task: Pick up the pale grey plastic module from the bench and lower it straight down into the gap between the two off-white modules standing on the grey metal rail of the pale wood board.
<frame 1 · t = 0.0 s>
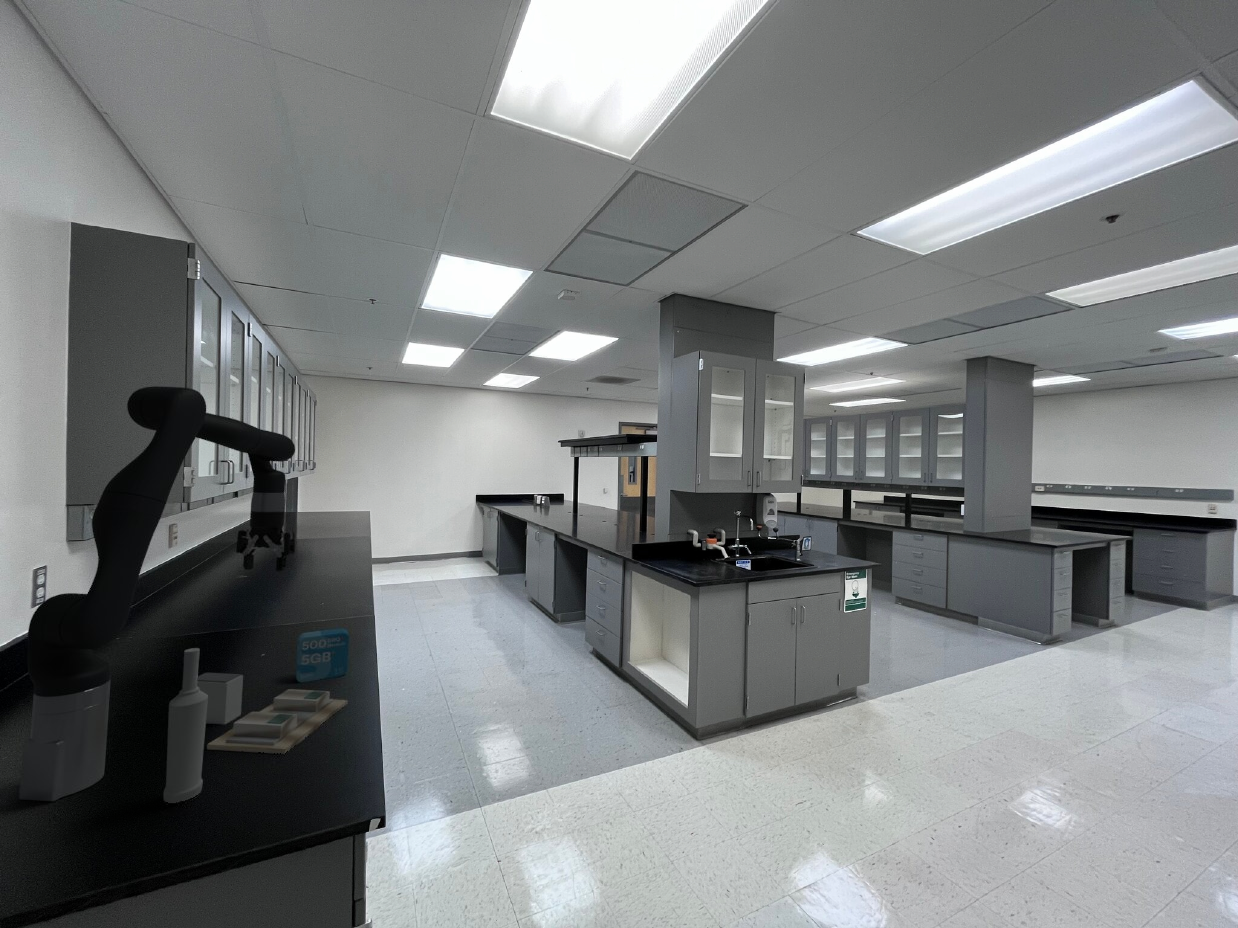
hand: (264, 570, 134), 29 cm above the counter, tool pointing down, fingers open, 8 cm apart
bottle: (182, 797, 87), on the counter
data package: (321, 677, 138), on the counter
rail board: (284, 724, 112), on the counter
module: (213, 718, 113), on the counter
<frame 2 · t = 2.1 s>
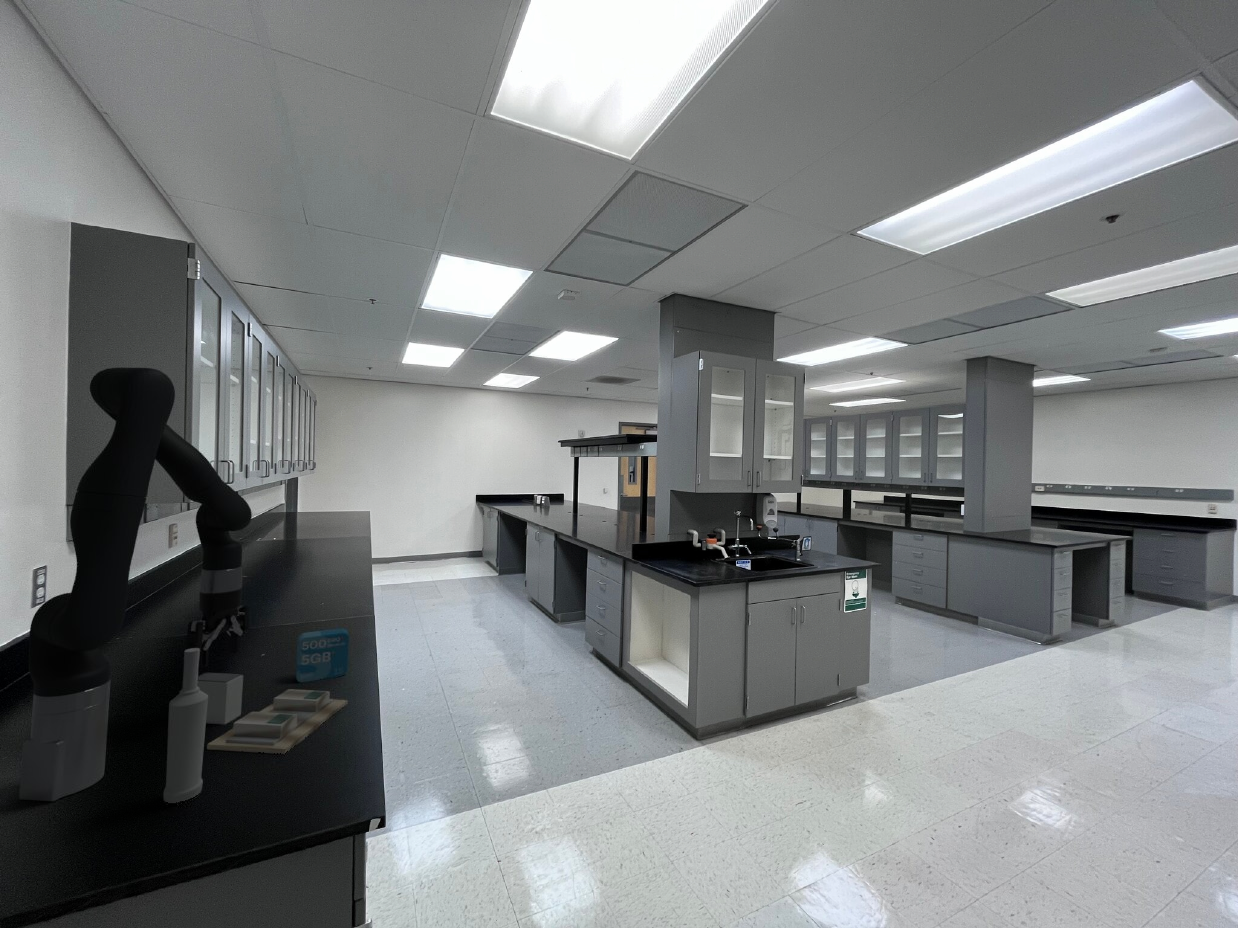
hand: (218, 659, 114), 13 cm above the counter, tool pointing down, fingers open, 8 cm apart
nothing on the counter moved.
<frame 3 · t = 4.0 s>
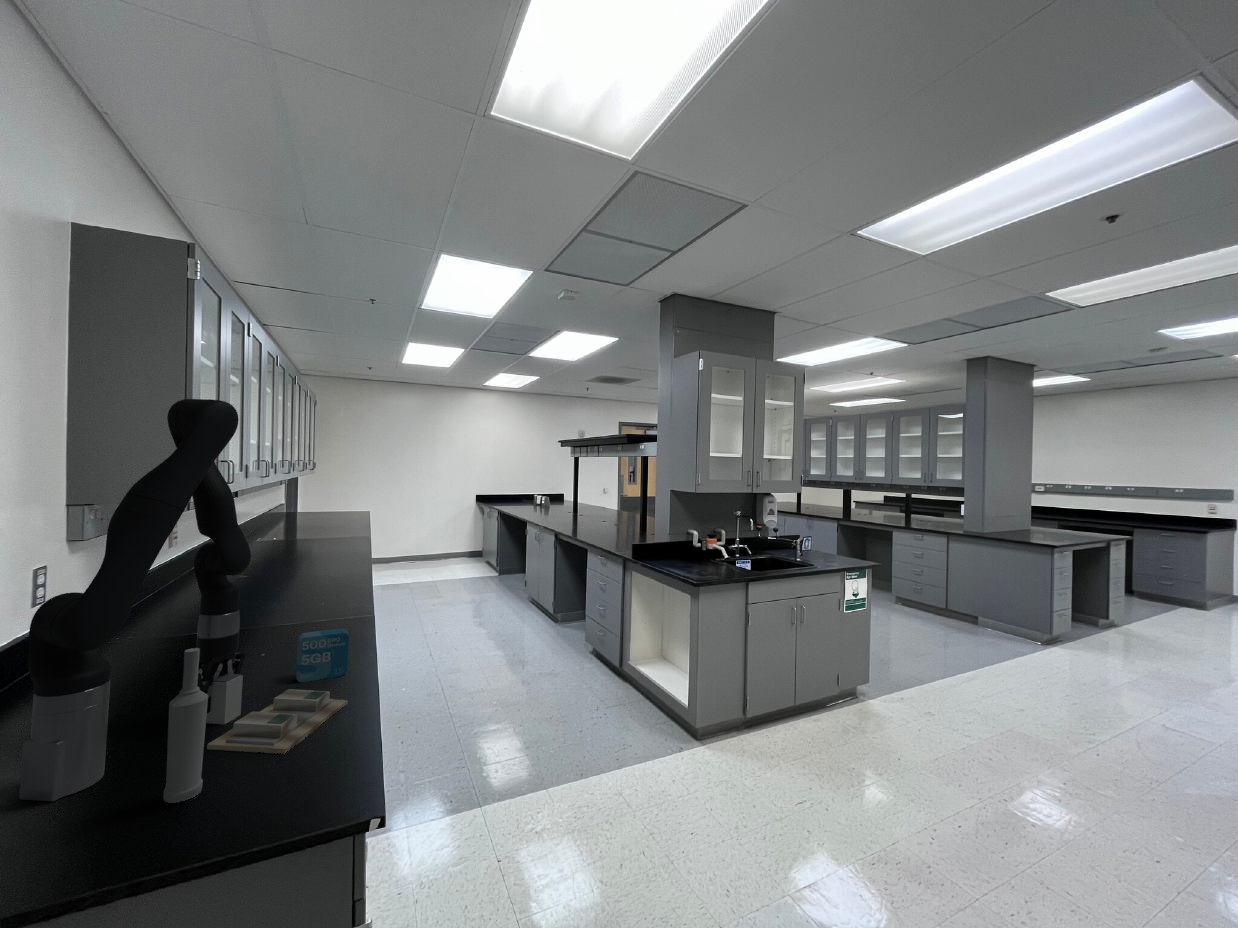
hand: (214, 707, 113), 2 cm above the counter, tool pointing down, fingers closed on module, 4 cm apart
module: (213, 718, 113), on the counter, touching gripper
everything else where it was.
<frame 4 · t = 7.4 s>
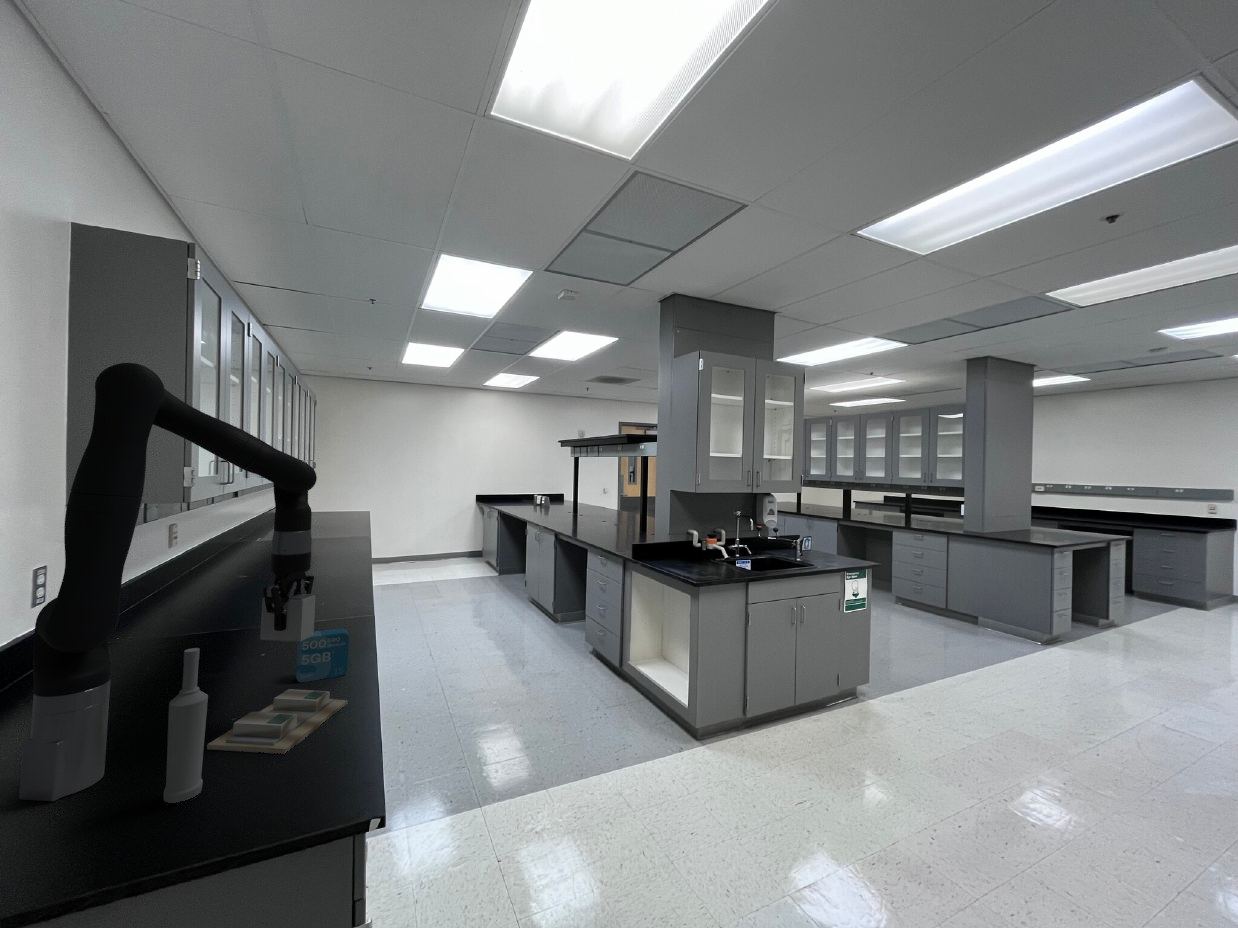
hand: (288, 626, 113), 22 cm above the counter, tool pointing down, fingers closed on module, 4 cm apart
module: (287, 637, 112), point 19 cm above the counter, touching gripper
everything else where it was.
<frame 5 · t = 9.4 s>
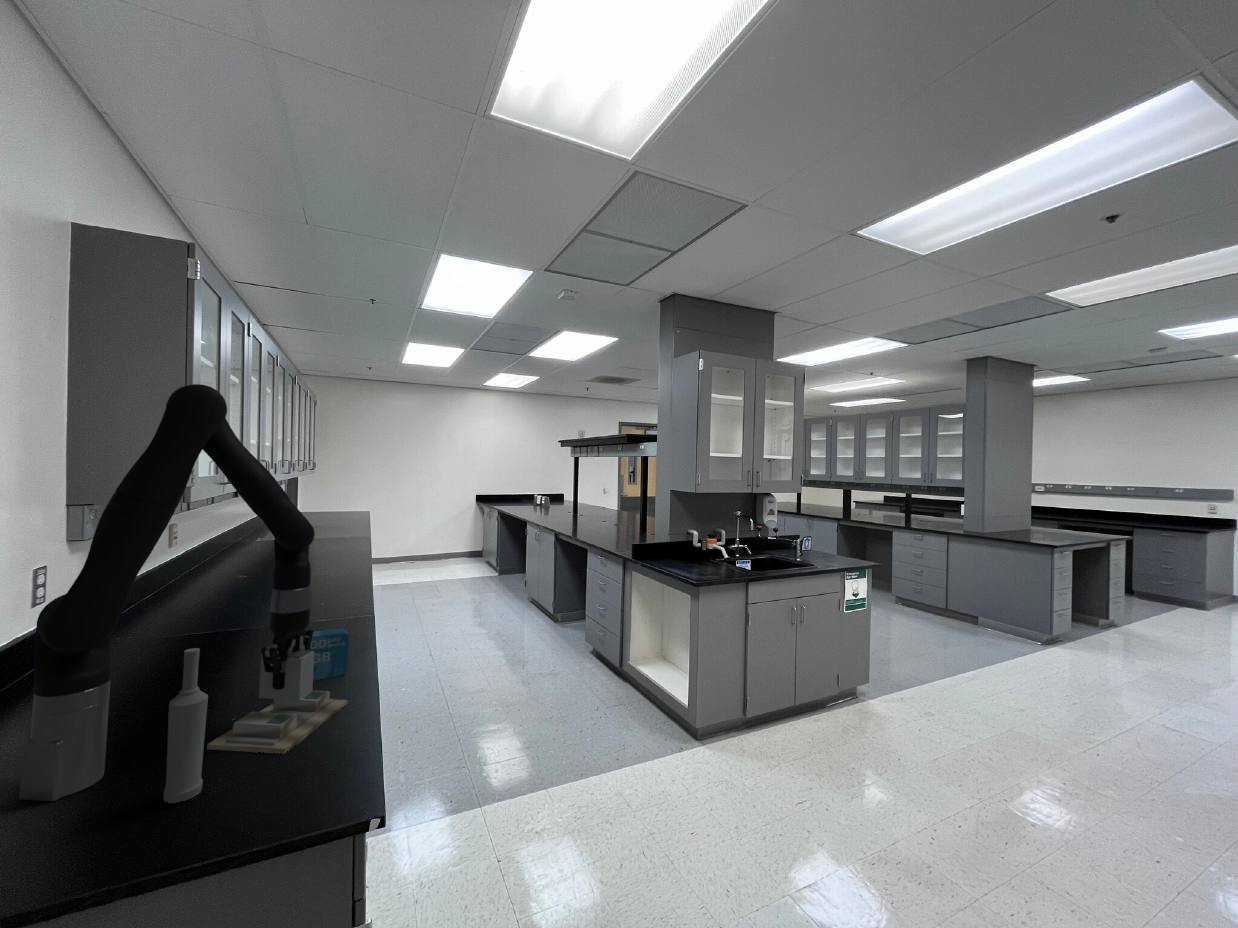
hand: (286, 683, 112), 9 cm above the counter, tool pointing down, fingers closed on module, 4 cm apart
module: (286, 694, 112), point 7 cm above the counter, touching gripper
everything else where it was.
when the fingers open (5 cm above the counter, at t = 10.9 s): module drops 1 cm, resting on rail board.
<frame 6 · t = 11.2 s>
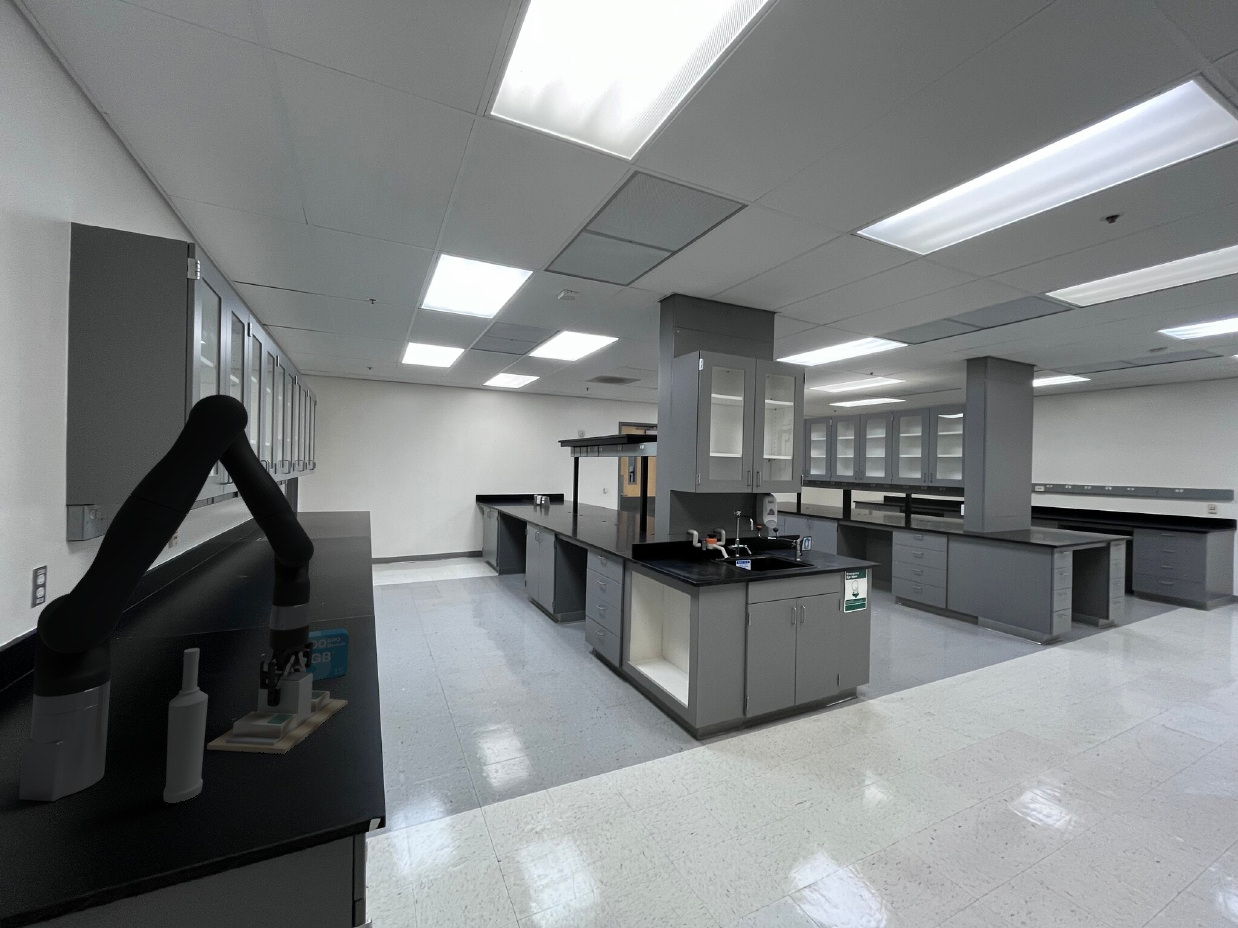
hand: (285, 697, 112), 6 cm above the counter, tool pointing down, fingers open, 7 cm apart
module: (284, 717, 112), point 2 cm above the counter, touching rail board
everything else where it was.
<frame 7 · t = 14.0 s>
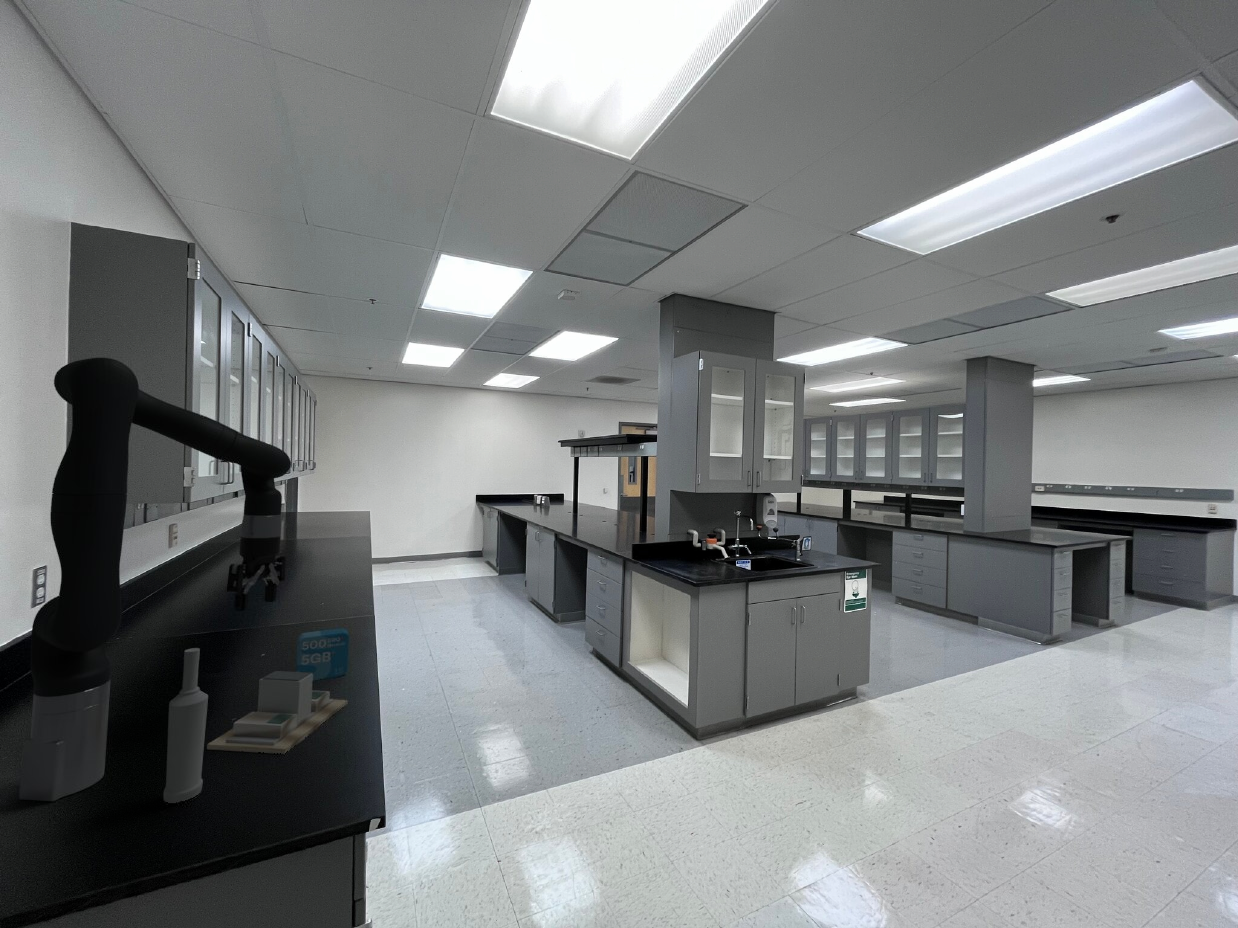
hand: (255, 605, 114), 25 cm above the counter, tool pointing down, fingers open, 8 cm apart
nothing on the counter moved.
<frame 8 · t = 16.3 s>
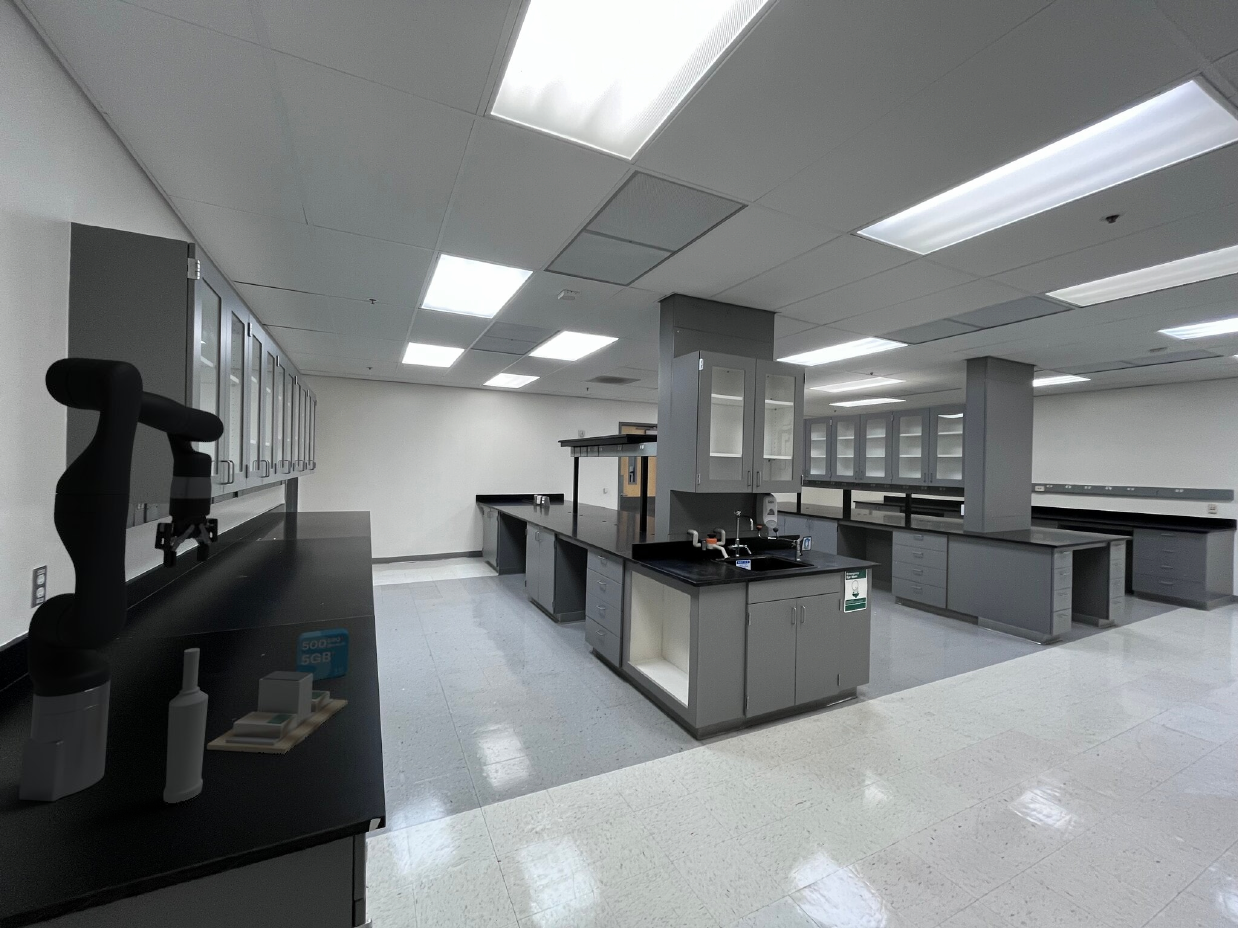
hand: (186, 564, 119), 33 cm above the counter, tool pointing down, fingers open, 8 cm apart
nothing on the counter moved.
at the end: module 0.0 cm off-centre on the rail board, point 1.6 cm above the rail board's base; module tilted 0°; the gripper is holding nothing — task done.
